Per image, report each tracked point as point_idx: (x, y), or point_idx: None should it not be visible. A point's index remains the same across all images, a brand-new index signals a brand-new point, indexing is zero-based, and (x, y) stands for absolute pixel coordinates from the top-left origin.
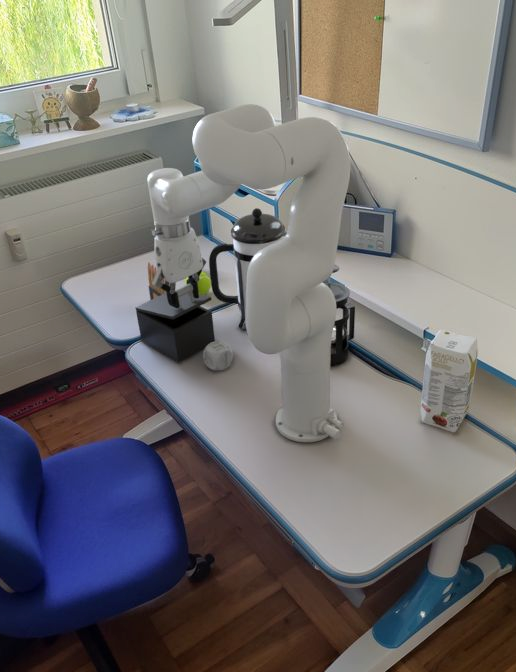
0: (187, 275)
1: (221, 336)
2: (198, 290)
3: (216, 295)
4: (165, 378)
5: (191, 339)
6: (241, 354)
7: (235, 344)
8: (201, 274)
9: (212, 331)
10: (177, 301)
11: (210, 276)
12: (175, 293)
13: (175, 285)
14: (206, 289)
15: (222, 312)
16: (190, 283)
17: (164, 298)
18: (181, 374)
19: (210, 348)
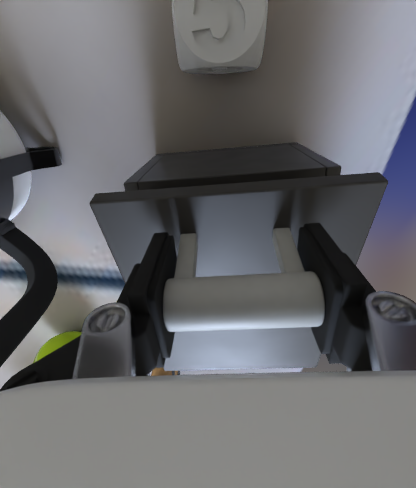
0: (268, 395)
1: (125, 167)
2: (133, 267)
3: (51, 280)
4: (378, 101)
5: (244, 156)
6: (124, 24)
7: (111, 97)
8: None
9: (153, 161)
10: (328, 243)
11: (16, 346)
12: (363, 283)
13: (375, 345)
14: (61, 338)
15: (68, 256)
16: (163, 325)
17: (225, 349)
18: (334, 81)
19: (247, 19)
